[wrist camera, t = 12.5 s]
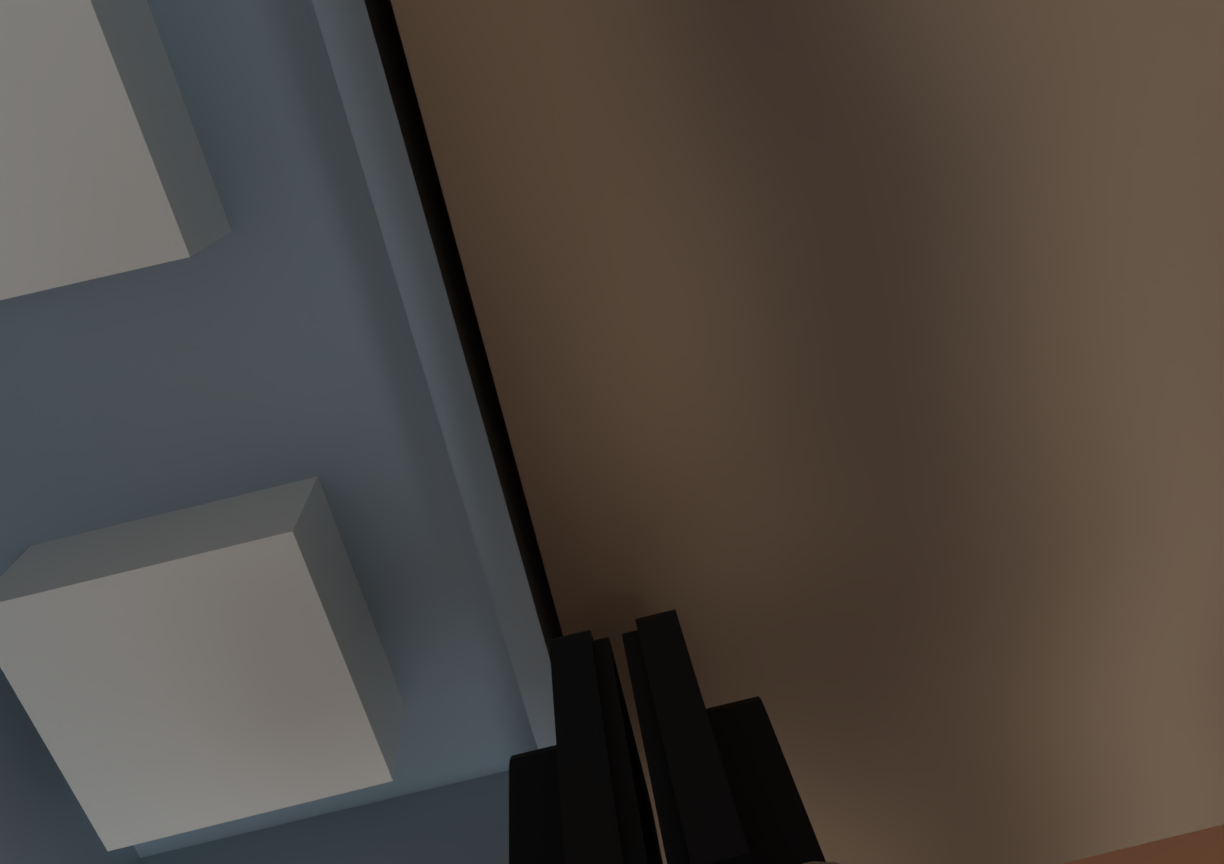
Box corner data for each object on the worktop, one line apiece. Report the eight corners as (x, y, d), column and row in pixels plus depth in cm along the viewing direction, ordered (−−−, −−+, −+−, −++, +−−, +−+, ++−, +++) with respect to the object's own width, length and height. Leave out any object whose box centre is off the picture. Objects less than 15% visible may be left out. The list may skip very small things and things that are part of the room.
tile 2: (-33, 609, 14) (30, 545, 16) (107, 851, 16) (149, 768, 18) (292, 531, 14) (317, 476, 16) (392, 780, 16) (404, 705, 18)
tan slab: (1067, -633, 12) (1422, -1072, 7) (1078, 638, 20) (1254, 817, 15) (303, -471, 12) (168, -818, 7) (617, 747, 19) (652, 962, 15)
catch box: (264, -464, 12) (43, -933, 6) (594, 753, 19) (628, 1030, 14) (-525, -296, 12) (-1487, -627, 6) (124, 864, 19) (-32, 1191, 14)
